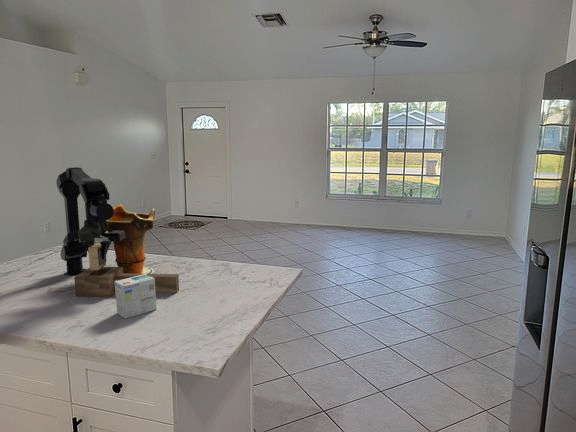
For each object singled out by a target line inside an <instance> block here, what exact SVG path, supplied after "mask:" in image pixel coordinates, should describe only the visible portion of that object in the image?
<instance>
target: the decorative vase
mask: <svg viewBox="0 0 576 432" xmlns="http://www.w3.org/2000/svg"><path fill="white" fill-rule="evenodd" d="M113 209H114V214H113V216H112V217H111V218H110V219H108V220H105V221H104V225H105V229H106V230H107V233H110V232H112V231H114V230H123V231H124V232H125V233H126V238H124V239H123V240H121V241H118V242H116V241H112V242H113V249H114V253H115V257H116V258H115V260H114V261H115V263H114V264H116V265H117V266H116V267H123V274H154V273H155V270H154V269H153V268H152V267H149V266H148V267H147V266H144V264H145V261H146V260H147V259H146V258H147V257H146V256H145V255H146V254H145V253H146V252H145V238H146V237H145V235H146V233H147V232H148V231H150V230H152V229H153V228H154V222H155V213H156V209H155V208H151V210H150V211H149V213H144V212H133V211H132V212H131V211H127V210H126V209H125V208H124V206H123V204H122V203H121V204H117V205H115V206H114V207H113Z"/></svg>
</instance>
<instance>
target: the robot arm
mask: <svg viewBox="0 0 576 432" xmlns="http://www.w3.org/2000/svg"><path fill="white" fill-rule="evenodd" d="M56 187H57V189H58V192H59V194H60V195H61V196H62V198H63V200H64V210H65V211H64V212H65V224H66V225H65V226H66V236H65V237H64V239H63V240H62V247H61V251H60V253H59V254H60V259H61V260H63V261H64V262H65V263H66V272H65V271H64V272H63V275H65V276H67V275H70V276H71V275H74V276H77V275H79V274H80V273H82V272H83V271H85V270H87V269H88V268H84V267H83V266H84V265H83V258H87V256H88V254H89V252H88V248H89V247H91V246H93V245H95V239H102V241H100V242H99V244H101V246H102V259H103V260H104V259H105V257H106V258H107V253H108V252H109V249H110V246H111V244H112V242H113V241H116V242H118V241H121V240H123V239H124V238H126V233H125V232H124V231H123V230H114V231H112V232H110V233H108V231H107V230H106V229H105V225H104V221H105V220H108V219H110V218H111V217H112V216H113V214H114V209H113V208H114V207H113V206H112V205H111V204H110V203H108V201H109V200H110V193H109V191H108V189H107V186H106V184H105V182H104V181H103V180H102V179H100V178H93V177H91V176H90V175H88V173H86V172H85V171H84V170H83V168H82V167H80V166H79V167H78V166H77V167H74V166H73V167H68V168H66V169H65V171H63V172H62V173H60V174H59V175H58V176H57V178H56ZM80 195H81V197H82V199H83V202H84V210H85V219H84V222H83V226H82V227H81V228H80V216H79V203H78V198H79V197H80Z"/></svg>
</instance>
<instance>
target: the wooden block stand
mask: <svg viewBox="0 0 576 432" xmlns="http://www.w3.org/2000/svg"><path fill="white" fill-rule="evenodd" d="M86 269H87V270H85V271H83V272H82V273H80V274H79V275H74V278H73V279H74V288H75V289H74V290H75V297H84V298H85V297H88V298H91V297H93V298H95V297H97V298H99V297H101V298H106V297H107V298H110V297H112V296H113V295H114V294H116V293H115V283H114V281H118V280H123V279H127V278H131V277H135V276H139V275H143V274H123V267H118V266H104V267H102V268H101V269H99V270H90V267H88V268H86ZM147 275H149V276H151V277H153V278H155V291H156V294H162V293H163V294H165V293H167V294H178V292H179V291H180V281H179V280H180V279H179V278H180V277H179V273H152V274H147Z"/></svg>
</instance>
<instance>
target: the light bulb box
mask: <svg viewBox="0 0 576 432" xmlns="http://www.w3.org/2000/svg"><path fill="white" fill-rule="evenodd" d="M114 283H115V293H114V294H115V303H116V313H117V314H118V315H119V316H121V317H122V318H123V319H125V320H126V319H129V318H133V317H136V316H138V315H142V314H146V313H148V312H152V311H155V310H158V309H157V308H158V307H157V295H156V294H157V293H156V291H155V278H153V277H151V276H149V275H147V274H143V275H139V276H135V277H131V278H127V279H123V280H118V281H114Z"/></svg>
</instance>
